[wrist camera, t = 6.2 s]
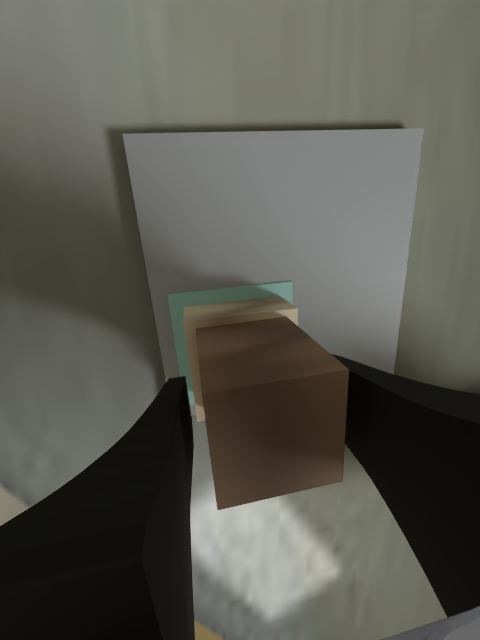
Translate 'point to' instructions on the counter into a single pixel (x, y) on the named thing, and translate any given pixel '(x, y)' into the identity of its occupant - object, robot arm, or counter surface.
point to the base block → (222, 316)
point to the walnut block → (270, 410)
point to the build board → (279, 230)
